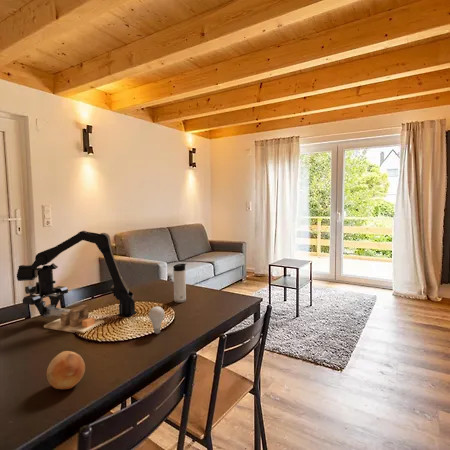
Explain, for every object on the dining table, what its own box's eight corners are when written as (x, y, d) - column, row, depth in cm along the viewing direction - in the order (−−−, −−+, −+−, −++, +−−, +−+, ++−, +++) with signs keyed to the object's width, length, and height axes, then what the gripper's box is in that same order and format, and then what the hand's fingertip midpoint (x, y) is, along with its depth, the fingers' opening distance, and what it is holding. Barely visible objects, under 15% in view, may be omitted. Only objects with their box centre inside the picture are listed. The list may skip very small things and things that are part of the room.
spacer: (90, 322, 133) (94, 323, 132) (82, 326, 129) (87, 327, 128) (89, 317, 133) (94, 317, 132) (82, 320, 128) (87, 321, 128)
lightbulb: (167, 331, 125) (167, 305, 124) (159, 337, 119) (159, 310, 119) (154, 329, 127) (153, 303, 126) (146, 335, 121) (145, 308, 121)
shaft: (81, 317, 134) (81, 307, 133) (74, 321, 130) (74, 310, 130) (51, 313, 139) (50, 303, 139) (43, 316, 136) (42, 306, 135)
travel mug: (184, 303, 160) (183, 265, 159) (172, 302, 162) (171, 264, 160) (188, 299, 167) (187, 262, 165) (176, 298, 168) (175, 262, 166)
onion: (38, 392, 85) (36, 358, 85) (68, 374, 95) (66, 342, 94) (65, 400, 82) (63, 364, 81) (93, 380, 91) (91, 347, 91)
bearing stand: (104, 322, 135) (103, 305, 135) (83, 333, 124) (82, 314, 123) (66, 317, 142) (65, 300, 141) (43, 327, 131) (42, 309, 130)
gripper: (49, 273, 148) (51, 305, 149) (11, 283, 130) (14, 319, 131) (68, 275, 144) (69, 307, 145) (31, 285, 126) (33, 322, 128)
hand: (47, 313), depth 137 cm, fingers open, 5 cm apart
